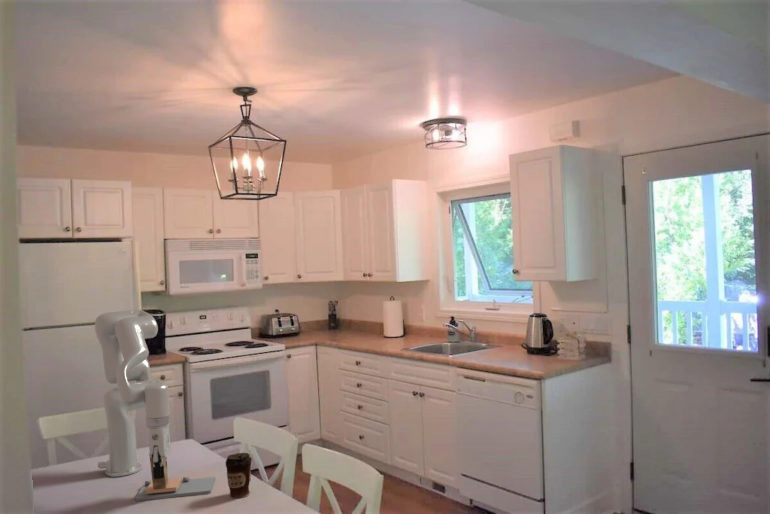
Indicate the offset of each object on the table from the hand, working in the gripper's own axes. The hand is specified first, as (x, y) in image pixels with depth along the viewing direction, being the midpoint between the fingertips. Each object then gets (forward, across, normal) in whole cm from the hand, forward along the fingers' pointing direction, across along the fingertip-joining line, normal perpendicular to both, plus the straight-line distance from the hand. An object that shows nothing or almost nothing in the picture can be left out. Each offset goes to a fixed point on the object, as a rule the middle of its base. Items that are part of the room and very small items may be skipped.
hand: (160, 475), depth 205 cm
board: (+7, +4, -4) cm, 9 cm away
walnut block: (+4, 0, 0) cm, 4 cm away
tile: (+6, +3, 0) cm, 6 cm away
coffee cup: (+7, -7, -26) cm, 28 cm away
